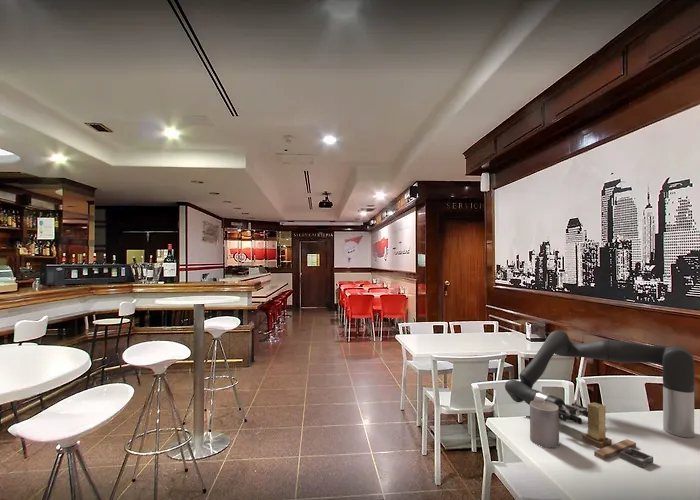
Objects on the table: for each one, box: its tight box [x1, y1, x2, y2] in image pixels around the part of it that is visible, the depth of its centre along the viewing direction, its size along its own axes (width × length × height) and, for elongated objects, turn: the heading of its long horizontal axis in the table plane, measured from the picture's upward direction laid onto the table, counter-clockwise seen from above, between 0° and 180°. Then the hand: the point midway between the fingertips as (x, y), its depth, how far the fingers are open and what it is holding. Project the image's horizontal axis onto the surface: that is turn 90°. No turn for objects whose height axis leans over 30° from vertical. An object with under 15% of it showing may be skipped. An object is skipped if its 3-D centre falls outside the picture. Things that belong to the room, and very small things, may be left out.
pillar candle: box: [529, 400, 560, 449], centre depth 138 cm, size 10×10×15 cm
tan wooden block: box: [587, 401, 607, 442], centre depth 138 cm, size 4×4×14 cm
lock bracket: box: [581, 432, 654, 469], centre depth 132 cm, size 20×20×2 cm
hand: (588, 419), depth 140 cm, fingers open, 8 cm apart
